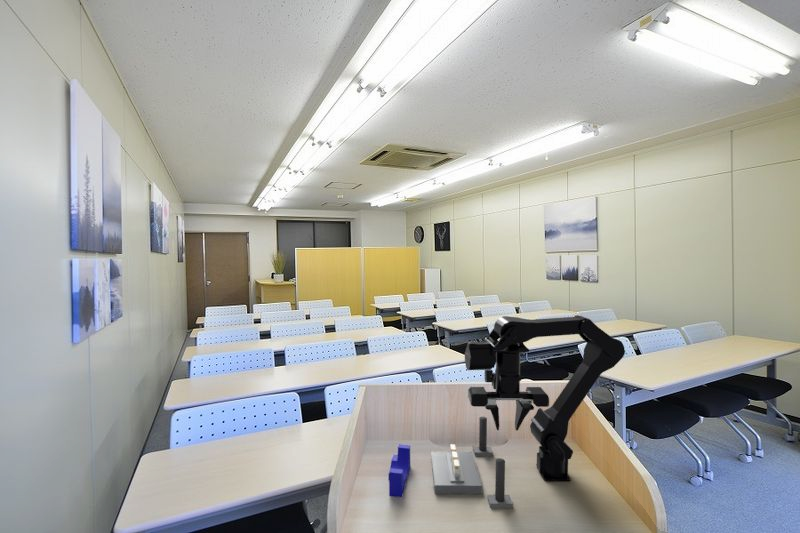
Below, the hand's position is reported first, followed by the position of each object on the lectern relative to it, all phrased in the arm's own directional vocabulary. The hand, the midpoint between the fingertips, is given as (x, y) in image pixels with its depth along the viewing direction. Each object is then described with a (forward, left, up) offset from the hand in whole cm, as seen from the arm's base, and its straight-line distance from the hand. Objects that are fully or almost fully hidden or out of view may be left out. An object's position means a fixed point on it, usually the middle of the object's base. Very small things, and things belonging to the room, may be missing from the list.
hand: (506, 429), depth 95 cm
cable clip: (+27, +2, -12) cm, 30 cm away
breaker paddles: (+13, 0, -10) cm, 16 cm away
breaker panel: (+13, 0, -12) cm, 18 cm away
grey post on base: (+4, -10, -12) cm, 16 cm away
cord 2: (+4, +10, -12) cm, 16 cm away
